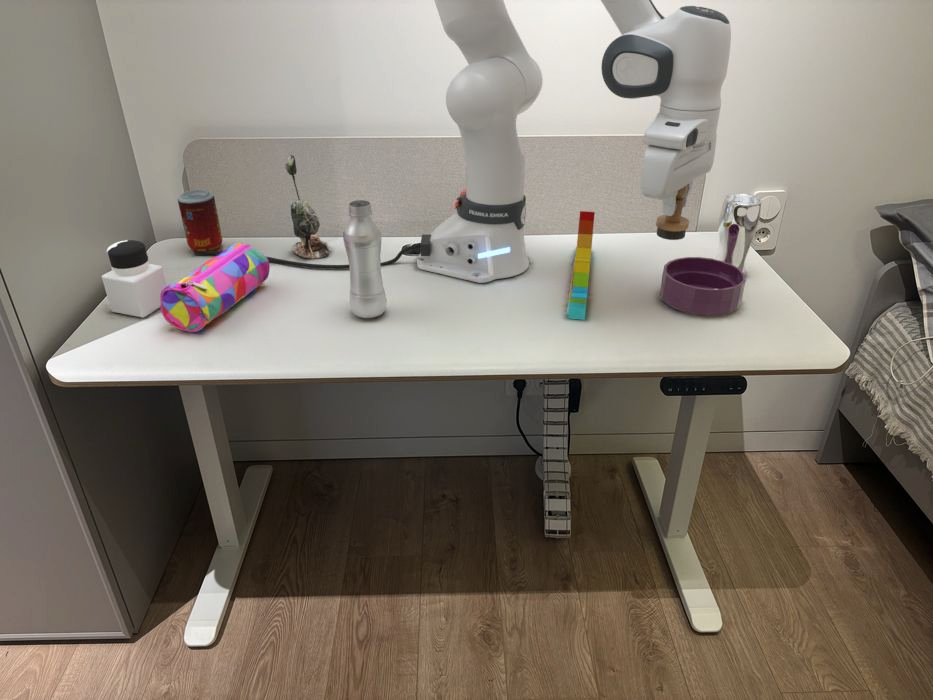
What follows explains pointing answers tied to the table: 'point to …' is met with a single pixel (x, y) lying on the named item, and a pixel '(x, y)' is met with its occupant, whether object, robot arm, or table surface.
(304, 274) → the table surface
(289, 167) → the plant with pod
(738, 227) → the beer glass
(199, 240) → the soda can
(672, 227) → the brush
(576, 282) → the chart
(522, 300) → the table surface
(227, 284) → the pencil case
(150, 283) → the medicine bottle
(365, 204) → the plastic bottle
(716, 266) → the bowl
